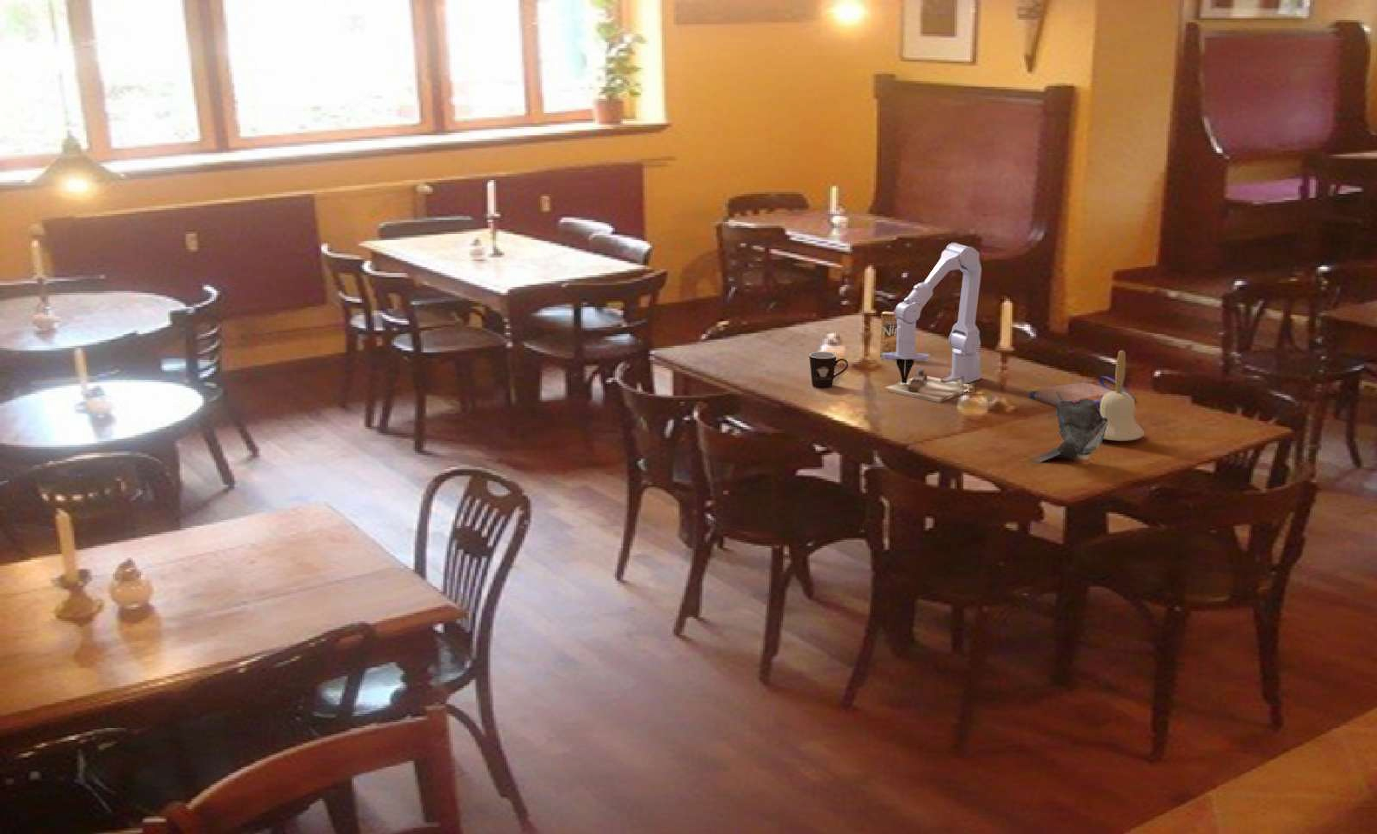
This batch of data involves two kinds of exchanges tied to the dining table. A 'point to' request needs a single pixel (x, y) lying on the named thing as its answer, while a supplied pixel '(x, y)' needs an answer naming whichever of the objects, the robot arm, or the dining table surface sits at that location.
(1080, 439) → the grey bird figurine
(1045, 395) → the clutch
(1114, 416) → the handbell
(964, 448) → the dining table surface
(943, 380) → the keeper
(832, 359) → the coffee mug
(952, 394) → the base board
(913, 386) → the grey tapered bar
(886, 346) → the candy box
